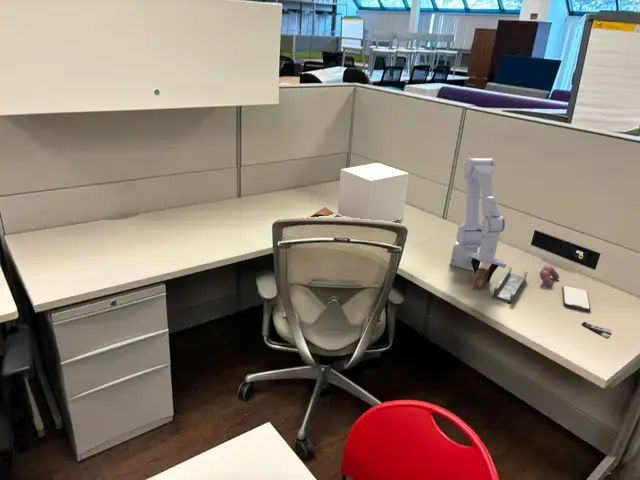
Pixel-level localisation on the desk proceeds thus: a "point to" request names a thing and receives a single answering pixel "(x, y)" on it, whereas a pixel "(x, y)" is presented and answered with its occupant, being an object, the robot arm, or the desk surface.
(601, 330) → the usb flash drive
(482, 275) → the brown rectangular block
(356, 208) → the cube
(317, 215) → the sunglasses case
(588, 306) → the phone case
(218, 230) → the desk surface
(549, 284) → the video game controller
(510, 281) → the rail
